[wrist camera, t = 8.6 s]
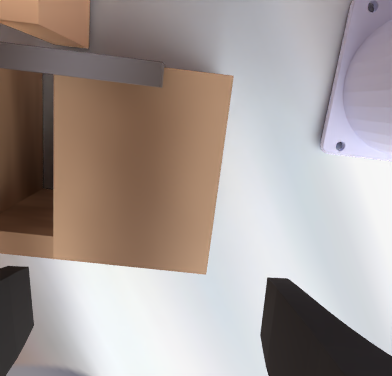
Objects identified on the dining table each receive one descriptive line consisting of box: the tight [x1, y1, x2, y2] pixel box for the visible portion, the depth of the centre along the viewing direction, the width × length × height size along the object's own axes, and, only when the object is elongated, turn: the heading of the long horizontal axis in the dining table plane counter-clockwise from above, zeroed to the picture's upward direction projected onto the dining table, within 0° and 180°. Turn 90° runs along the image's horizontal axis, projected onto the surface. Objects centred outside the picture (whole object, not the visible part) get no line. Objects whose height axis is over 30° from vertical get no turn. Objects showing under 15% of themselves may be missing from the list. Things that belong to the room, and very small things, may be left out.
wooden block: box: [0, 42, 233, 274], centre depth 15 cm, size 16×8×7 cm, turn 83°
